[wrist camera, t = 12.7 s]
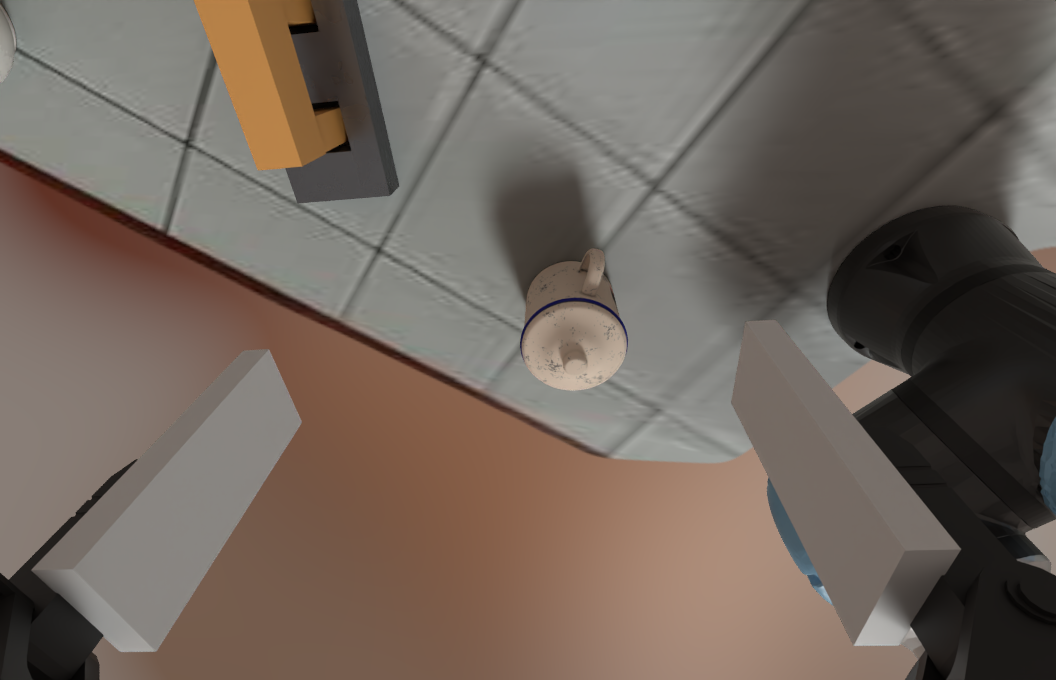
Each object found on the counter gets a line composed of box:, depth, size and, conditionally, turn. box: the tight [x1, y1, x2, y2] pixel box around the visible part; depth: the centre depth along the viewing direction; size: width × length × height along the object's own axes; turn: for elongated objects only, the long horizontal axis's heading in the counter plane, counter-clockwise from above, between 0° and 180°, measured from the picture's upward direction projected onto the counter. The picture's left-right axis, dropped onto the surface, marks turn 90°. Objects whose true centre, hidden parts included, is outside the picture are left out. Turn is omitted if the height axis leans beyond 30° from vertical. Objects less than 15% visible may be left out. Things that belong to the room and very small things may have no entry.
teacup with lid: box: [520, 248, 628, 390], centre depth 42 cm, size 12×9×12 cm
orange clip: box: [194, 0, 348, 170], centre depth 33 cm, size 10×3×11 cm, turn 5°
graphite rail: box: [286, 0, 399, 203], centre depth 36 cm, size 8×19×3 cm, turn 5°
